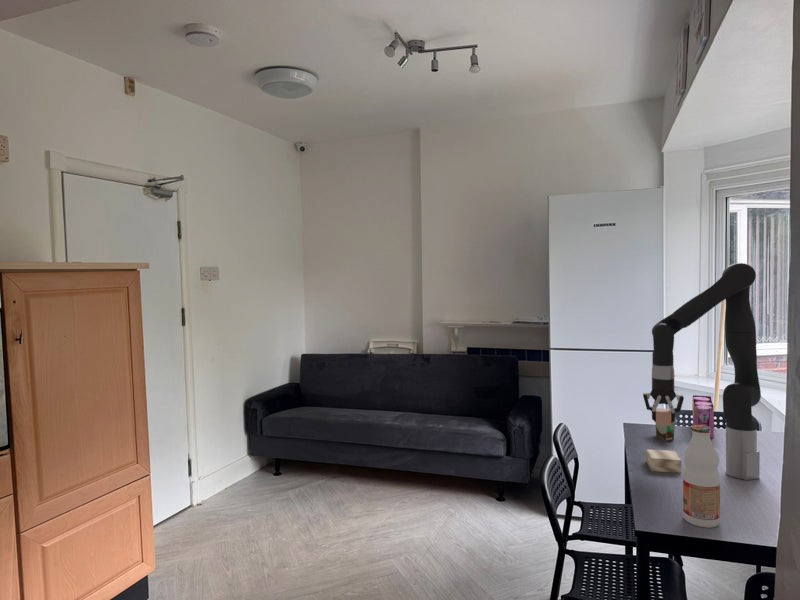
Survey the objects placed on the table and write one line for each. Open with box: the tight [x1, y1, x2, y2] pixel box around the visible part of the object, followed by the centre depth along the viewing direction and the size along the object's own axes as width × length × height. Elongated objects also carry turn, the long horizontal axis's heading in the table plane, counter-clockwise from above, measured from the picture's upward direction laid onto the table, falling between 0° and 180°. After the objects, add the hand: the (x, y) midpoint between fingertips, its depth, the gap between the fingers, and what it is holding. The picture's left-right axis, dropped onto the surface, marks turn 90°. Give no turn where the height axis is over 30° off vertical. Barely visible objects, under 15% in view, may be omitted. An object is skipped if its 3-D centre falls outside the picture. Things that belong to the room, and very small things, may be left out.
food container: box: [654, 417, 678, 443], centre depth 230 cm, size 12×6×10 cm, turn 179°
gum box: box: [692, 394, 715, 439], centre depth 239 cm, size 24×8×14 cm, turn 152°
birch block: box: [645, 449, 682, 474], centre depth 198 cm, size 10×10×5 cm
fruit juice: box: [682, 424, 721, 529], centre depth 154 cm, size 9×9×28 cm
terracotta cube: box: [655, 407, 671, 426], centre depth 197 cm, size 5×5×5 cm
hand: (663, 421), depth 197 cm, fingers closed on terracotta cube, 5 cm apart
